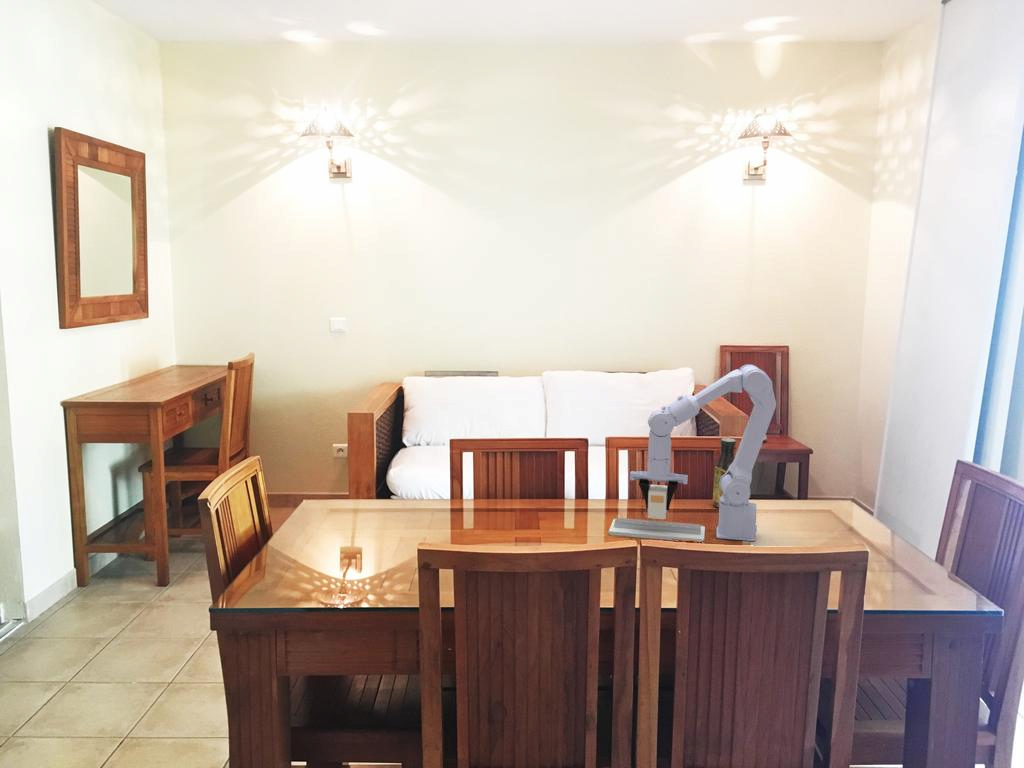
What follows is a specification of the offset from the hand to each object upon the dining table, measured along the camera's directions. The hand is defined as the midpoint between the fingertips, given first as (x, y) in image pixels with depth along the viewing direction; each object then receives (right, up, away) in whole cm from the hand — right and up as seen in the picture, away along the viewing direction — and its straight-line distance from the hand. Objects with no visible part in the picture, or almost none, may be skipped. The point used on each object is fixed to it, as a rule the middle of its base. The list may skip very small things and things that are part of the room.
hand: (657, 508), depth 206 cm
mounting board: (0, -6, +1) cm, 6 cm away
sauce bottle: (+23, -3, +23) cm, 33 cm away
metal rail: (0, -6, +1) cm, 6 cm away
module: (0, -2, +1) cm, 2 cm away
